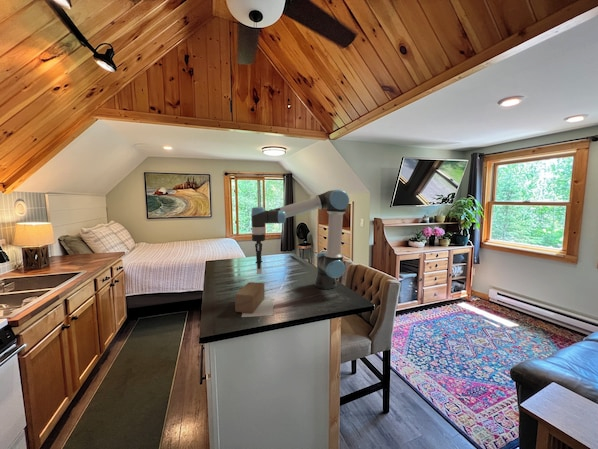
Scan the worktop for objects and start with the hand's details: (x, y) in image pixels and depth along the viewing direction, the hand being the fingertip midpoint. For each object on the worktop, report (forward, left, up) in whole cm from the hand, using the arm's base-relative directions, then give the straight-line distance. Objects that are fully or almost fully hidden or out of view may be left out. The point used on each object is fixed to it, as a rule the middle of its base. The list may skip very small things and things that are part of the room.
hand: (259, 273), depth 147 cm
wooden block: (+1, 0, -10) cm, 10 cm away
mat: (0, +12, -15) cm, 20 cm away
